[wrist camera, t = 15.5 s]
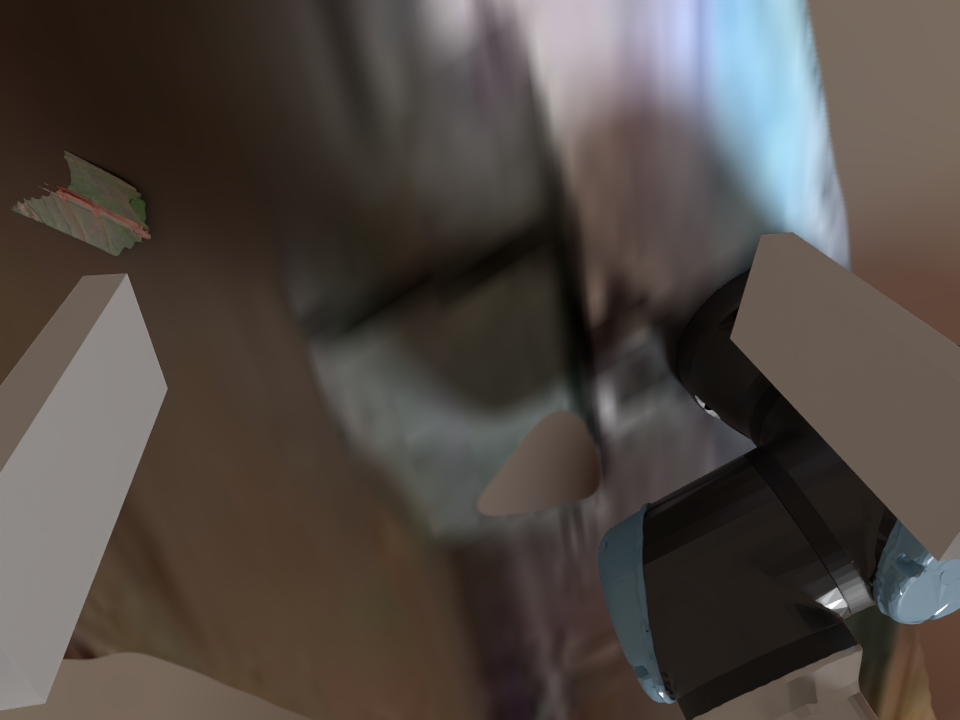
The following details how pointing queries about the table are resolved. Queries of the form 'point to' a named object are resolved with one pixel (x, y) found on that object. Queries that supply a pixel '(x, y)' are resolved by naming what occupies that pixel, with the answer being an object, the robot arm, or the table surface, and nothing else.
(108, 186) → the map
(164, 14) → the table surface
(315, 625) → the table surface
